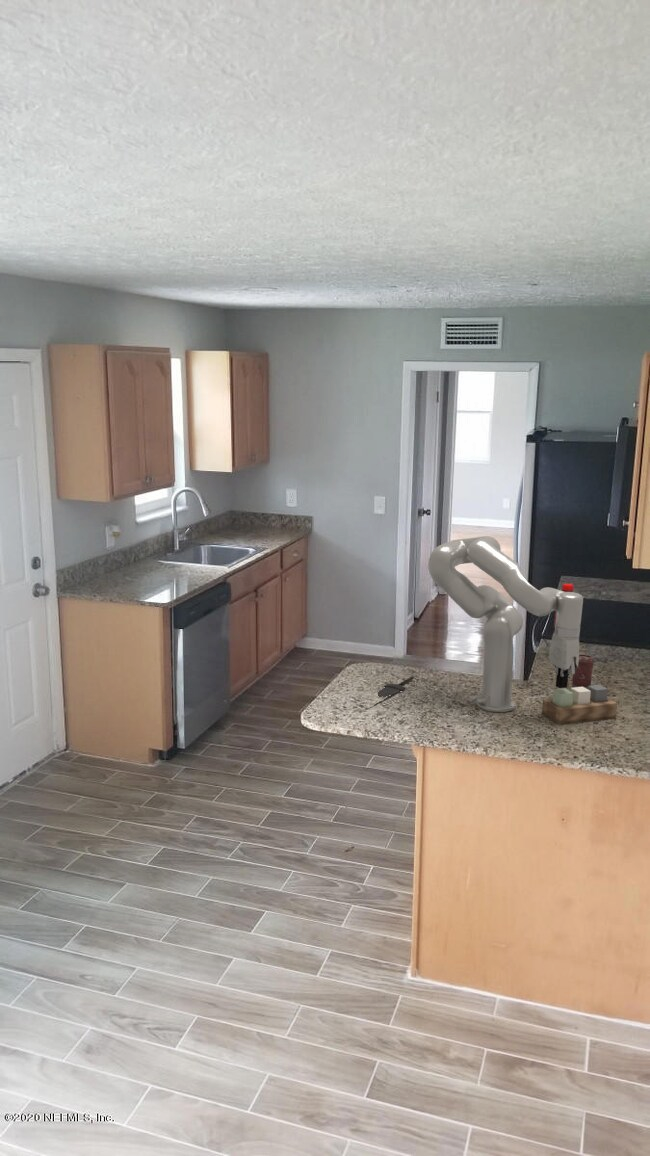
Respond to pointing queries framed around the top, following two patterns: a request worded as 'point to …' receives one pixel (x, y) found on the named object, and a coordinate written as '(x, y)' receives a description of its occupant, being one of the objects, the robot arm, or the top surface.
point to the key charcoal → (598, 693)
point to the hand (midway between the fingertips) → (561, 687)
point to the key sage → (562, 697)
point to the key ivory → (581, 695)
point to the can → (583, 672)
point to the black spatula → (393, 688)
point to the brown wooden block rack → (579, 711)
